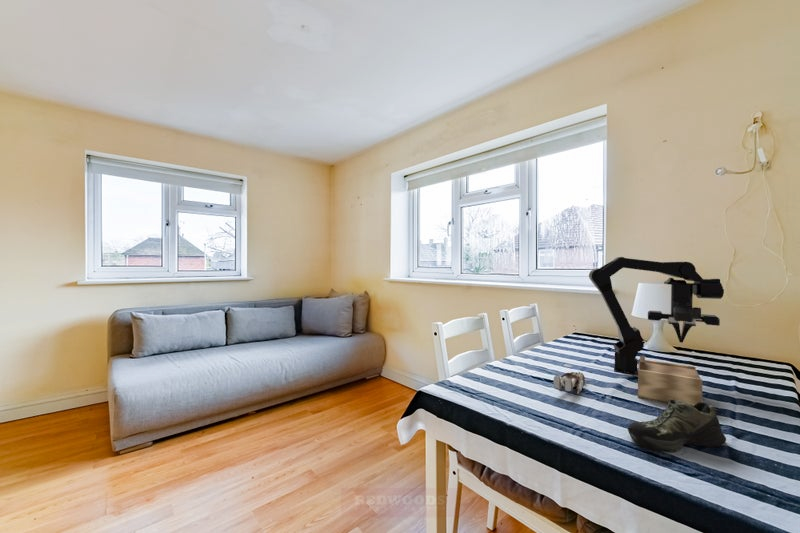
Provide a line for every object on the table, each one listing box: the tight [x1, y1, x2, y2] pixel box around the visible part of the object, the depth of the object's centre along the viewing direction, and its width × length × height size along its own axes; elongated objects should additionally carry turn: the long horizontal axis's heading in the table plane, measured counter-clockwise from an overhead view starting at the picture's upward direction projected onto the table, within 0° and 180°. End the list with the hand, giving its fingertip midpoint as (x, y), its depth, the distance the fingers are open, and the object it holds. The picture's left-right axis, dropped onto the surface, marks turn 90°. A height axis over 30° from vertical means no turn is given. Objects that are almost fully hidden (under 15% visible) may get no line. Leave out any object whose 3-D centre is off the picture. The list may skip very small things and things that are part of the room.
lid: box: [637, 355, 701, 379], centre depth 99 cm, size 14×12×3 cm
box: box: [637, 358, 703, 406], centre depth 99 cm, size 14×14×8 cm
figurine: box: [553, 371, 586, 395], centre depth 104 cm, size 6×6×20 cm
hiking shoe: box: [627, 399, 727, 453], centre depth 74 cm, size 8×21×9 cm, turn 98°
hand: (681, 342), depth 115 cm, fingers closed
